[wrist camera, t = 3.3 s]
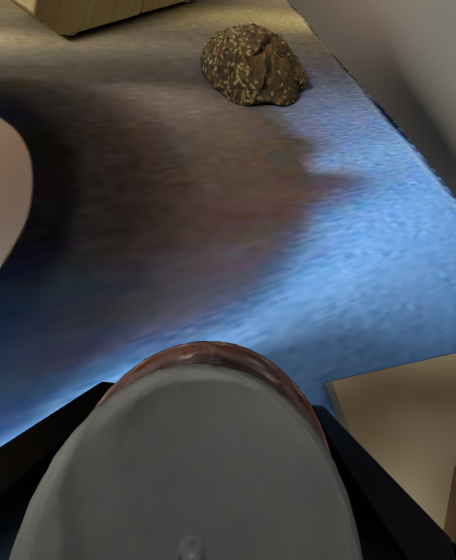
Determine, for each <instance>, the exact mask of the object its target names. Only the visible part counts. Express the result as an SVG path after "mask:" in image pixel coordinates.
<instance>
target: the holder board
mask: <svg viewBox="0 0 456 560" xmlns="http://www.w3.org/2000/svg"><path fill="white" fill-rule="evenodd" d="M325 385H326V388H327V391H328V394H329V397H330V400H331V403H332V406H333V409H334V412H335V415H336V417H337V420H338V422H339V423H340V424H341V425H342V426H343V427H344V428H345V429H346V430H347V431H348V432H349V433H350V434H351V435H352V436H353V437H354V438H355V439H356V440H357V441H358V443H359V444H360V445H361V446H362V447H363V448H364V449H365V450H366V451H367V452H368V453H369V454H370V455H371V456H372V457H373V458H374V459H375V460H376V461H377V462H378V463H379V464H380V465H381V466H382V467H383V468H384V469H385V470H386V471H387V473H388V474H389V475H390V476H391V477H392V478H393V479H394V480H395V481H396V482H397V483H398V484H399V485H400V486H401V487H402V488H403V489H404V490H405V491H406V492H407V493H408V494H409V495H410V496H411V497H412V498H413V499H414V500H415V502H416V503H417V504H418V505H419V506H420V507H421V508H422V509H423V510H424V511H425V512H426V513H427V514H428V515H429V516H430V517H431V518H432V519H433V520H434V521H435V522H436V523H437V524H438V525H439V526H440V527H441V528H442V529H443V530H444V532H445V533H446V534H447V535H448V536H449V537H450V538H451V541H452V542H455V543H456V353H453V354H448V355H444V356H439V357H435V358H431V359H426V360H422V361H417V362H413V363H408V364H404V365H400V366H395V367H391V368H386V369H382V370H378V371H373V372H369V373H364V374H360V375H356V376H351V377H347V378H342V379H338V380H334V381H329V382H325Z"/></svg>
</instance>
